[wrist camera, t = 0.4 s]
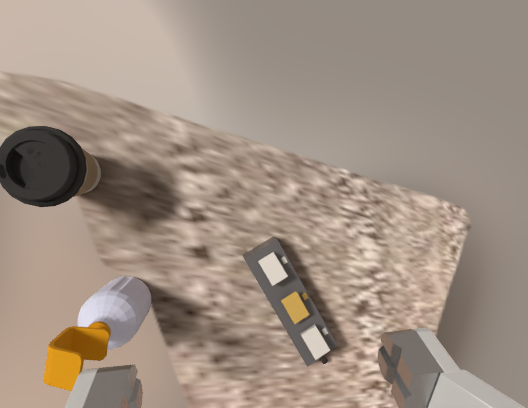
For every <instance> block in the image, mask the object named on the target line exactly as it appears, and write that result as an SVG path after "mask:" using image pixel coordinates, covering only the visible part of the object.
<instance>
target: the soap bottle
mask: <svg viewBox="0 0 528 408" xmlns="http://www.w3.org/2000/svg"><path fill="white" fill-rule="evenodd" d="M150 306H151V293H150V291H149V289H148V287H147V286H146V285H145V284H144V283H143V282H142V281H141V280H139V279H137V278H135V277H128V276H123V277H119V278H115V279H114V280H112V281H111V282H109V283H107V284H106V285H105V286H104V287H102V288H101V289H100V290H99V291H98V292H96V293H95V294H94V295H93V296H92V297H90V298H89V299H88V300H87V301H86V302H85V304H84V305H83V306H82V307H81V310H80V313H79V316H78V326H77V327H69V328H67V329H65V330H64V331H63V332H61V333H60V334H59V335H58V336H57V337H56V338H55V339H54V340H52V341H51V342H50V344H49V346H48V353H47V360H46V367H45V374H44V380H43V381H44V383H46V384H47V385H50V386H54V387H58V388H62V389H65V390H69V391H72V389H73V387H74V384H75V382H76V380H77V377H78V375H79V374H80V373H81V372H82V368H83V361H84V360H85V359H86V360H98V361H100V360H103V359H104V358H105V357H106V355H107V350H109V349H113V348H117V347H120V346H122V345H124V344H125V343H127V342H129V341H130V340H131V339H132V337H133V336H134V335H135V334H136V332H137V331H138V329H139V327H140V326H141V324H142V322H143V320H144V319H145V317H146V315H147V313H148V312H149V309H150Z"/></svg>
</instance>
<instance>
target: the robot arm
mask: <svg viewBox="0 0 528 408" xmlns="http://www.w3.org/2000/svg"><path fill="white" fill-rule="evenodd" d="M381 342H382V343H383V346H382V347H381V348H380V349H379V351H378V362H379V367H380V370H381V372H382V374H383V377H384V379H385V380H387V381H388V382H389V383H391V384H392V390H391V393H392V395H393V397H394V399H395V401H396V403H397V405H398V407H399V408H525V407H524V406H522V405H520V404H519V403H517V402H516V401H514V400H512V399H511V398H509V397H508V396H506V395H504V394H503V393H501V392H500V391H498V390H496V389H495V388H493V387H492V386H490V385H489V384H487V383H485V382H484V381H482V380H481V379H479V378H477V377H476V376H474V375H473V374H471V373H469V372H468V371H466V370H460V369H459V367H458V366H457V365H456V363H455V362H454V361H453V359H452V358H451V357H450V355H449V354H448V353H447V352H446V350H445V349H444V347H443V346H442V345H441V343H440V342H439V341H438V340H437V338H436V337H435V335H434V334H433V333H432V331H431V330H430V329H428V328H427V327H426V328H417V329H407V330H400V331H393V332H386V333H384V334H383V335H382V337H381ZM136 375H137V368H136V366H135V364H134V365H124V366H114V367H105V368H95V369H87V370H82V372H81V373H80V374H79V375H78V377H77V380H76V382H75V384H74V387H73V389H72V392H71V394H70V396H69V399H68V401H67V403H66V406H65V408H141V405H142V393H143V392H142V385H141V381H140V380H139V379H137V378H136Z"/></svg>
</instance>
